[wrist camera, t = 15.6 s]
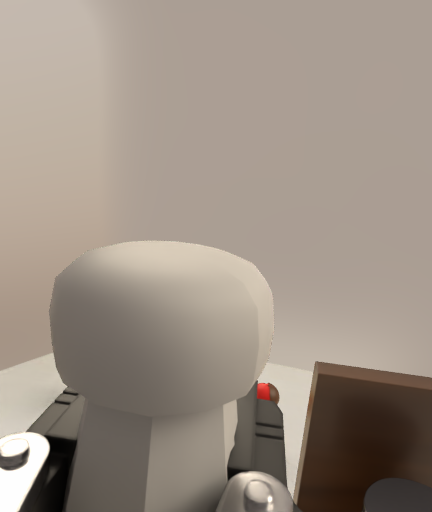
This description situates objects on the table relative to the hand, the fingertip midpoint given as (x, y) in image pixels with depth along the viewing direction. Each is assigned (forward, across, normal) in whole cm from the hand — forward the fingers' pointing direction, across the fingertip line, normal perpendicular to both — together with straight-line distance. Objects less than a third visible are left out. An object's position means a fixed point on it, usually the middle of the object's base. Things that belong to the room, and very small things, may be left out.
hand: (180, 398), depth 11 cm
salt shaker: (-3, 0, +8) cm, 9 cm away
